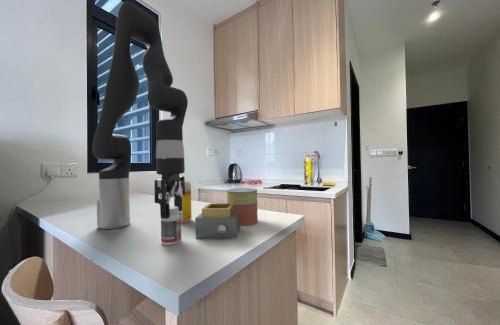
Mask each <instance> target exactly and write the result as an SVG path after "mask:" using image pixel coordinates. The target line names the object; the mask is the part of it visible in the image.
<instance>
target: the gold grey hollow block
mask: <svg viewBox="0 0 500 325" xmlns="http://www.w3.org/2000/svg"><path fill="white" fill-rule="evenodd" d="M194 219H195V224H194V225H195V239H220V240H221V239H222V240H223V239H227V240H228V239H229V240H231V239H233V240H236V239H237V238H238V234H239V232H240V231H241V227H240V210H234V203H227V202H226V203H225V202H224V203H220V202H219V203H212V202H211V203H208V204H207V205H205V206H204V207H203V208H201V213H200V214H198V215H197V216H196V217H195V218H194Z"/></svg>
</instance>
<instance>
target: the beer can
mask: <svg viewBox="0 0 500 325" xmlns="http://www.w3.org/2000/svg"><path fill="white" fill-rule="evenodd" d="M173 198H174V197H173ZM174 199H176V198H174ZM174 199H173V200H174ZM178 214H179V215H180V216H181V224H184V223H189V222H190V221H191V220H192V185H191V182H190V181H188V180H187V181H185V195H183V198H182V210H181V211H178Z"/></svg>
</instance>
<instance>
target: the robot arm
mask: <svg viewBox="0 0 500 325" xmlns="http://www.w3.org/2000/svg"><path fill="white" fill-rule="evenodd" d="M159 26H160V25H159V23H158V21H157V20H156V19H155V17H154V16H153V15H151V14H149V13H148V12H147V11H145V10H144V9H143V8H140V7H139V6H137V5H135V4H134V3H133V2H130V1H123V2H122V4H120V7H119V9H118V13H117V18H116V24H115V35H114V43H113V50H112V51H113V52H112V56H111V57H112V58H111V62H110V67H109V71H108V75H107V80H106V84H105V90H104V96H103V97H104V98H103V102H102V108H101V112H100V115H99V120H98V123H97V126H96V129H95V132H94V135H93V140H92V143H91V144H92V145H91V147H92V148H91V150H92V154H93V156H94V158H96V159H99V160H113V163H112V164H111V165H110V166H108V167H106V168H104V169H101V170H100V171H99V172H98V188H99V189H98V190H99V191H98V196H99V197H98V198H99V199H98V200H96V221H97V222H96V223H97V224H96V225H97V226H96V227H97V228H98V229H102V230H110V229H111V230H113V229H118V228H123V227H126V226H128V225H130V224H131V215H130V214H131V212H130V210H131V206H130V205H131V204H130V203H131V202H130V171H131V167H132V166H131V164H132V163H131V162H132V161H131V160H132V143H131V140H130V139H129V137H128V136H127V135H124V134H119V133H117V134H116V133H114V130H115V128H116V125H117V123H118V122H119V121H120V120H121V118H122V117H123V116H124V115H125V114H127V112H128V111H130V109H131V108H132V107H133V106H134V105H135V104H136V101H137V98H138V97H137V96H138V94H139V88H140V79H139V76H138V72H137V69H136V66H135V65H134V61H133V58H132V57H133V56H132V54H131V53H132V52H131V42H132V41H131V40H132V39H134V40H135V41H138V42H139V43H141V44H144V45H145V46H146V48H147V49H146V50H145V52H144V53H143V56H142V62H141V63H142V67H143V68H142V69H143V70H144V74H145V76H146V79H147V101H148V104H149V105H150V106H151V107H152V108H153V109H155V111H156V110H157V111H162V112H167V113H170V116H169V118H164V119H159V120H157V121H156V124H155V136H156V140H155V141H156V144H155V165H156V166H155V167H156V168H155V169H156V174H157V175H161V179H154V203H155V204H158V205H159V207H160V208H159V209H160V211H159V212H160V213H159V214H160V215H159V216H160V219H161V218H162V219H168V218H169V217H170V207H171V206H170V201H171V198H172V197H173V198H176V199H173V203H174V204H173V206H177V207H178V209H179V211H181V210H182V198H183V195H185V176H184V175H183V176H182V175H181V174H185V170H186V168H185V164H186V163H185V146H184V140H183V139H184V138H183V136H184V135H183V134H184V133H183V126H184V123H185V122H184V121H185V117H186V113H187V111H188V110H187V109H188V106H189V104H188V102H189V101H188V97H187V95H186V93H185V92H184V91H183V90H182V89H180V88H177V87H173V86H172V84H173V82H174V77H173V75H172V72H171V69H170V67H169V65H168V62H167V59H166V57H165V53H164V52H165V51H164V47H163V40H162V38H161V32H160V31H161V30H160V27H159Z"/></svg>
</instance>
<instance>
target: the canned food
mask: <svg viewBox="0 0 500 325" xmlns="http://www.w3.org/2000/svg"><path fill="white" fill-rule="evenodd" d="M226 203H234V210H240V228H244V227H246V228H247V227H252V226H255V225H258V223H259V220H258V189H257V188H254V187H253V188H250V187H236V188H229V189H227V190H226Z"/></svg>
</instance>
